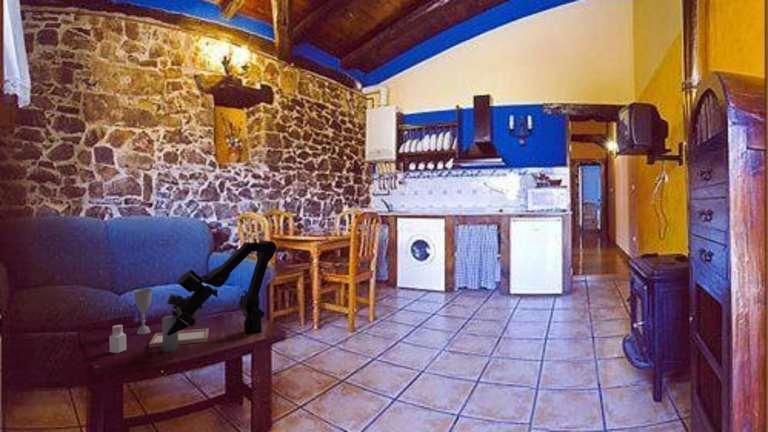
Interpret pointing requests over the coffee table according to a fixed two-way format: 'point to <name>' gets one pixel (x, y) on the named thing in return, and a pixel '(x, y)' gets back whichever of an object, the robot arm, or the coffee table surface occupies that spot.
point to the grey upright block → (170, 341)
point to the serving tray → (182, 337)
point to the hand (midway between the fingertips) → (166, 332)
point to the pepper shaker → (117, 339)
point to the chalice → (143, 306)
